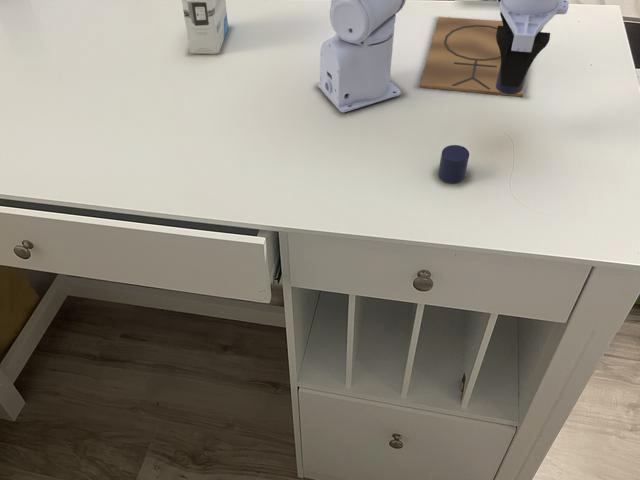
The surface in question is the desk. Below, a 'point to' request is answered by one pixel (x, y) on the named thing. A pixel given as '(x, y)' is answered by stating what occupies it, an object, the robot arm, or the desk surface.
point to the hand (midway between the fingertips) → (511, 76)
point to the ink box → (205, 25)
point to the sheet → (464, 56)
